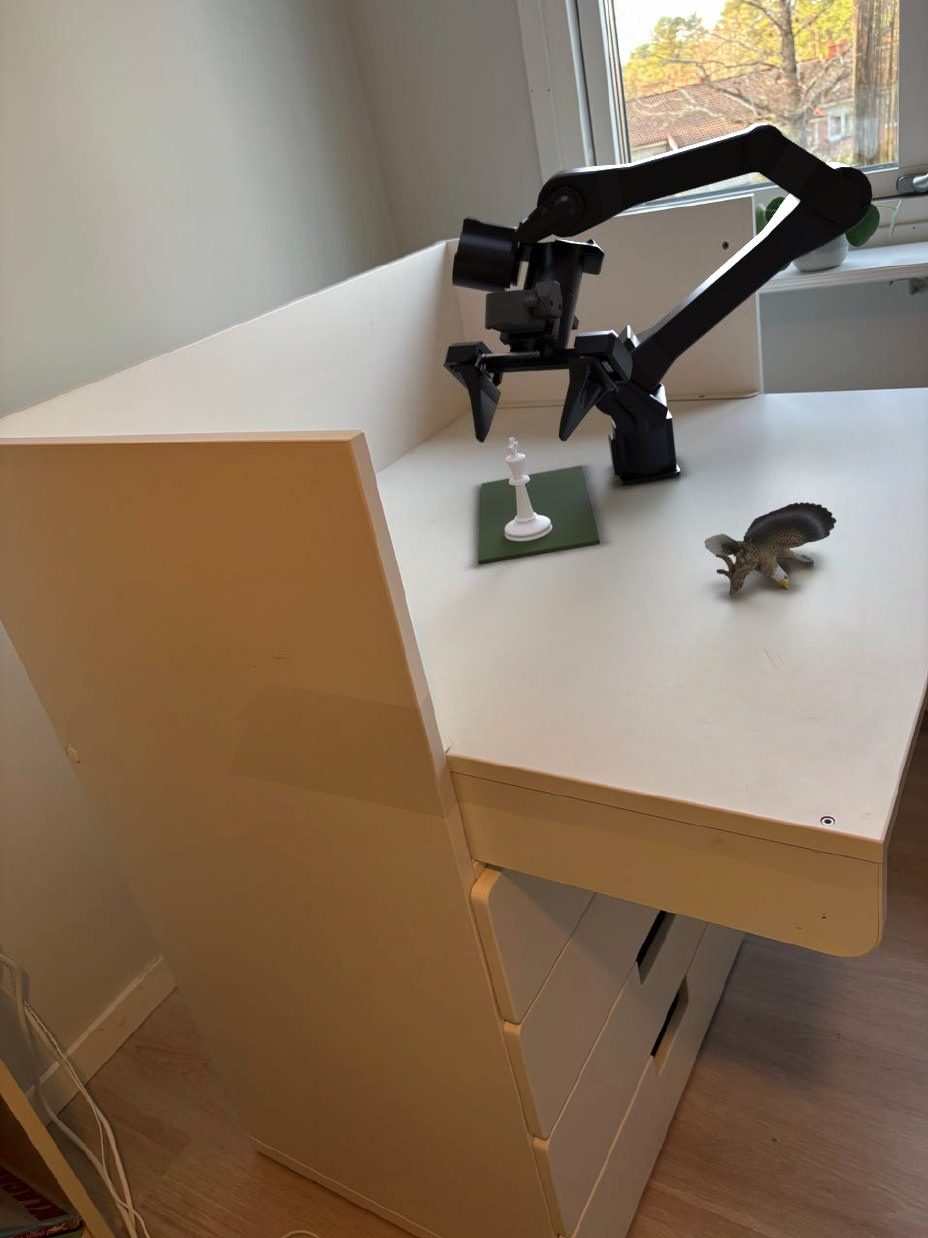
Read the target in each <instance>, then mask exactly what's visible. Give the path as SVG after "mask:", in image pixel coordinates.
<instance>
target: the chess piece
mask: <svg viewBox="0 0 928 1238" xmlns="http://www.w3.org/2000/svg"><path fill="white" fill-rule="evenodd" d="M508 443H509V446H507V452H509V453H510V455H507V456H506V458H504V459H505V463H506V465H507V467H508V468H509V471H510V472H511V474H512V477H510V479H509V478H508V479H509V484H510V485H515V486H516V499H517V516H516V517H515V519H514V520H512V521H511V522H509V523H508V524H507V525H506V526H505V537H506V538H507V539H509V540H512V541H529V540H534V539H537V538H540V537H543V536H545V535H546V534H548V533H549V532H550V531H551V530H552V525H551V521H550V519H549V518H547V517H545V516H542V515H537V513H535V512H533V509H532V507H531V504H530V500H529V497H528V494H527V490H526V487H525V483H527V482H528V481H529V480H530V478H529V476H528V475H529V474H524V471H525V462H526V455H525V454H523V453H521V452H518V449H517V448H518V447H519V441H518V440H517V441H516V439H515V437H509V438H508Z"/></svg>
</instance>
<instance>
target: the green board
mask: <svg viewBox="0 0 928 1238" xmlns="http://www.w3.org/2000/svg"><path fill="white" fill-rule="evenodd" d="M527 475H528V476H529V478H530V480H529V481H528V482H527V483H525V487H526V490H527V494H528V497H529V500H530V504H531V507H532V509H533V512H535V513H537V515H542V516H545V517H547V518H549V519H550V521H551V525H552V530H551V531H550V532H549V533H548V534H546V535H545V536H543V537H540V538H537V539H534V540H529V541H512V540H509V539H507V538H506V537H505V526H506V525H507V524H508V523H509V522H511V521H512V520H514V519H515V517H516V516H517V499H516V486H515V485H510V484H509V479H510V478H511V477H510V478H504V479H499V480H493V481H489V482H483V483H481V487H480V488H481V489H480V491H481V492H480V511H479V533H478V534H479V535H478V557H477V559H478V564H479V565H481V564H482V565H483V564H487V563H488V564H489V563H494V562H499V561H505V560H511V559H516V558H517V559H518V558H523V557H528V556H534V555H540V554H546V553H553V552H558V551H565V550H570V549H575V548H580V547H581V548H582V547H588V546H593V545H599V544H601V541H600V537H599V531H598V528H597V524H596V519H595V515H594V512H593V507H592V504H591V499H590V495H589V490H588V487H587V483H586V479H585V475H584V470H583V466H582V465H577V466H570V467H566V468H564V467H563V468H559V469H555V470H554V469H553V470H548V471H542V472H537V473H532V474H527Z"/></svg>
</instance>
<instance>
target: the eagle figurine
mask: <svg viewBox="0 0 928 1238" xmlns="http://www.w3.org/2000/svg"><path fill="white" fill-rule="evenodd" d="M837 521H838V520H837V519H836V518H835V517H833V512H831V511H829V510H828V508H827V507H825V506H823V505H822V504H820V503H819V504H816V503H814V502H812V503H809V502H799V503H798V502H794V503H789V504H787V505H785V506H782V507H779V508H777V509H774V510H771V511H769V512H768V513H764V514H762V515H760V516H758V517H755V518H754V520H753V521H752V522H751V524H750V525H749V526H748V528H747V531H746V532H745V533H744V536H743V537H742V538H743V540H736V539H734V538H733V537H730V536H729V535H728V534H725V533H720V534H714V535H712V536H710V537H708V538H707V537H706V538H705V540H704V541H703V543H704V548H705V550H708V551H709V552H710V553H711V554H713V555H715V557H716V558H718V559H721V560H723V561H724V563H725V565H726V566H727V570H725V569H723V568H718V569H716V573H717V574H718V575H724V576H725V577H727V578H728V580H729V585H730V587H729V593H728V594H729V596H730V597H733V596H734V595H736V594H737V593H738V592H739V591H740V590H741V589H742V588H743V587H744V584H745V579H746V577H747V576H748V575H749V574H750V573H751V572H753V571H756V572H758V573H760V574H762V575H764V576H767V577H770V578H772V579H774V580H775V581H776V582H778V583H780V584H781V585H783V587H785V589H786V590H789V589H790V582H789V576H788V575H787V573H786V572H785V570H784V569H782V567H781V566H780V565H779V563H778V562H777V560H778V561H779V560H783V561H796V562H801V563H802V562H803V563H807V564H814V563H815V560H814V559H813V558H812V557H810V556H807V555H805V554H799V553H796V552H795V551H794V550H793V549H794V548H799V547H802V546H804V545H806V544H808V543H816V542H819V541H821V540H823V539H826V538H828V537H829V536H830V535H831V532H830V531H832V530H834V529H835V524H836V523H837ZM730 556H733V557H734V558H735V561H734V562H733V559H732V558H731V557H730Z"/></svg>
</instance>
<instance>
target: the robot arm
mask: <svg viewBox="0 0 928 1238" xmlns="http://www.w3.org/2000/svg"><path fill="white" fill-rule="evenodd" d="M755 173H758V174H760V175H761V176H762V177H764V178H765V179H767V180H769V181H770V182H772V183H773V184H775V185H776V186H777V187H779V188H780V189H782V190H783V191H785V192H786V193H788V195H787V197H785V199H784V200H783V202H782V203H781V204H780V206H779V207H778V209H777V210H776V211H775V213H774V214H773V216H772V218H771V219H770V220H769V222H768V223H767V225H766V226H765V227H764V228H763V230H761V232H759V234H757V235H756V236H755V237H753V239H751V240H750V241H749V242H748V243H747V244H746V245H744V246H743V247H742V248H741V249H740V250H739V251H737V252H736V253H735V254H734V255H733V256H732V257H731V258H730V259H728V260H727V261H726V262H725V263H724V264H723V265H722V266H721V267H719V268H718V269H717V270H715V272H713V273H712V274H711V275H710V276H709V277H708V278H707V279H706V280H705V281H703V282H702V283H701V284H700V285H699V286H698V287H697V288H695V289H694V290H693V291H692V292H691V293H690V294H689V295H687V296H686V297H685V298H684V299H682V301H680V302H679V303H678V304H677V305H676V306H675V307H674V308H672V309H671V310H670V311H669V312H668V313H667V314H666V315H665V316H663V317H662V318H661V319H660V320H658V322H657V323H656V324H654V325H652V326H651V327H649V328H647V329H645V330H643V331H641V332H639V333H637V334H635V333H634V331H633V329H632V328H631V325H626V326H625V327H624V329H622V330H621V331H620V333H619V334H617V333H616V332H615V330H613V329H612V330H600V331H588V332H580V333H578V334H577V335H576V336H575V337H574V342H573V347H570V348H569V344H570V340H571V339H570V338H571V334H572V331H577V330H579V324H580V320H579V319H578V317H577V316H576V309H577V303H578V300H579V295H580V294H579V293H580V290H581V284H582V279H583V274H588V275H594V276H599V275H600V274H601V273H602V268H603V266H604V265H603V264H604V260H605V254H606V253H605V251H604V250H603V249H602V248H601V247H600V246H599V245H597V244H596V242H595V240H594V239H593V238H590V239H588V240H587V241H584V242H577V241H576V242H575V241H570V240H565V239H566V238H572V237H575V236H578V235H581V234H582V233H584V232H586V231H589V230H591V229H592V228H595V227H596V226H599V225H601V224H603V223H605V222H606V221H609V220H610V219H612V218H614V217H617V216H618V215H620V214H621V213H623V212H625V211H627V210H630V209H631V208H633V207H635V206H639V205H642V204H645V203H650V202H653V201H656V200H659V199H660V200H661V199H663V198H667V197H671V196H675V195H677V194H682V193H684V192H689V191H692V190H695V189H699V188H702V187H706V186H709V185H714V184H717V183H720V182H724V181H728V180H732V179H734V178H735V179H736V178H739V177H742V176H745V175H749V174H755ZM872 201H873V187H872V184H871V181H870V180H869V177H868V176H867V175H866V174H865V173H864V172H863V171H861V170H860V169H858V168H855V167H854V166H850V165H847V164H845V163H842V162H838V161H836V162H835V161H831V162H830V161H828V162H825V161H824V160H822V159H820V158H819V157H817V156H816V155H815V154H813V153H812V152H810V151H808V150H806V149H805V148H803V147H801V146H800V145H799V144H797V143H795V142H794V141H792V140H790V139H789V138H788V137H786V136H785V135H784V134H783V132H782V131H781V130H780V129H779V128H778V127H776V126H775V125H772V124H769V123H765V122H761V123H754V124H752V125H750V126H749V127H748V126H747V128H745V129H743V130H739V131H737V132H733V133H729V134H727V135H723V136H719V137H716V138H713V139H709V140H706V141H703V142H699V143H696V144H692V145H688V146H686V147H682V148H679V149H675V150H672V151H671V150H670V151H668V152H665V153H662V154H658V155H655V156H650V157H648V158H645V159H644V158H643V159H640V160H638V161H634V162H630V163H622V164H610V165H596V166H585V167H574V168H566V169H562V170H560V171H558V172H556V173H554V174H553V175H552V176H550V177H549V178H548V179H547V181H546V182H545V183H544V184H543V186H542V187H541V189H540V192H538V197H537V201H536V208H535V209H533V210H532V211H531V212H530V213H529V215H527V216H524V215H523V216H522V218H521V219H520V221H519V222H518V226H514V225H510V224H509V225H508V224H503V223H497V222H491V221H488V220H487V221H486V220H485V219H482V218H480V217H475V216H470V215H468V216H467V217H465V218H464V219H463V220H462V221H463V222H462V227H461V228H462V229H461V231H460V232H461V233H460V236H459V239H458V244H457V249H456V251H455V252H454V256H453V262H452V270H451V271H452V272H451V273H452V274H451V282H452V286H454V287H460V288H464V289H470V290H476V291H482V292H488V293H486V294H485V306H484V307H485V308H484V309H485V310H484V311H485V313H484V328H485V330H488V331H490V330H493V331H496V332H499V333H500V334H499V337H498V339H499V341H500V342H501V343H502V344H503V345H504V346H509V351H507V352H495V353H494V352H493V351H492V349H490V347H489V346H488V345H487V344H486V342H484V341H483V340H476V341H475V340H474V341H464V342H463V341H462V342H454V343H453V344H450V345H449V346H448V347H447V349H446V352H445V356H444V361H443V365H442V366H443V367H444V368H445V369H446V370H447V371H448V372H449V374H451V375H452V376H453V377H454V378H455V379H456V380H457V381H458V382H459V383H460V384H461V385H462V386H463V387H464V388H465V389H467V393H468V396H469V400H470V407H471V413H472V420H473V428H474V435H475V439H476V440H477V441H478V442H479V443H480V444H482V443H485V441H486V439H487V437H488V435H489V433H490V430H491V427H492V423H493V420H494V416H495V413H496V411H497V408H498V405H499V401H500V398H501V395H502V391H501V390H500V389H499V388H498V387H499V386H500V385H501V384H502V383H503V377H504V374H506V373H523V372H545V371H548V372H549V371H562V370H564V371H565V370H568V380H569V382H568V386H567V390H566V395H565V398H564V403H563V408H562V412H561V416H560V421H559V427H558V438H559V440H560V441H561V442H567V441H568V439H569V438H570V437H571V435H572V434H573V433H574V432H575V430H576V429H577V427H578V426H579V425H580V424H581V422H582V421H583V420H584V419H585V417H586V416H587V415H588V413H589V412H590V411H591V410H592V408H594V407H596V409H597V410H599V411H600V412H601V413H602V414H604V415H606V416H609V417H610V418H611V428H612V429H611V430H612V433H609V434H608V435H607V440H608V447H609V453H610V462H611V468H612V472H613V474H614V476H616V477H618V478H619V482H620V485H621V486H626V485H632V484H638V483H645V482H649V481H656V480H661V479H666V478H671V477H672V478H673V477H677V476H680V475H681V469H680V466H679V465H678V463H677V453H676V452H677V451H676V444H675V443H676V442H675V434H674V423H673V416H672V414H671V412H670V410H669V406H668V399H667V391H666V386H665V385H664V384H662V383H661V381H662V380H663V378H665V375H666V374H667V373H668V372H669V371H670V368H672V366H673V364H674V363H675V361H677V359H678V358H679V357H681V355H683V354H685V352H687V351H688V349H690V348H691V347H692V346H694V345H695V344H696V343H697V342H698V341H699V340H701V339H702V338H703V337H704V336H705V335H706V334H708V333H709V332H711V330H713V329H714V328H715V327H716V326H718V324H719V323H721V322H722V321H724V320H725V319H726V318H727V317H728V316H729V315H730V314H732V313H733V312H734V311H735V310H736V309H738V307H740V306H741V305H742V304H743V303H744V302H745V301H747V300H748V299H750V298H751V296H753V295H754V294H755V293H756V292H757V291H759V290H760V289H761V288H762V287H763V286H764V285H766V284H767V283H768V282H769V281H771V280H772V279H773V278H774V277H776V275H778V274H779V273H780V272H781V271H782V270H784V269H785V268H786V267H787V266H788V265H789V264H791V263H793V262H794V261H796V260H798V259H800V258H803V257H804V256H807V255H809V254H810V253H813V252H815V251H817V250H819V249H822V248H823V247H826V246H827V245H829V244H831V243H832V242H833V241H835V240H837V239H839V238H840V237H842V236H844V235H845V234H846V233H847V234H848V233H849V232H850V231H851V230H853V229H855V228H856V227H857V226H859V225H860V224H862V223H861V222H862V221H864V220H865V218H866V217H867V216H868V214H869V212H870V211H871V205H872ZM553 235H554V236H555V237H557V238H555V239H554V241H544V242H541V241H542V240H545V239H547V238H549V237H551V236H553ZM558 238H559V239H558ZM560 238H563V239H560ZM564 238H565V239H564ZM523 263H527V268H526V272H525V278H524V282H523V285H522V286H523V287H522V289H514V290H511V286H512V287H517V288H518V287H519V283H520V279H521V273H522V268H523Z"/></svg>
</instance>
